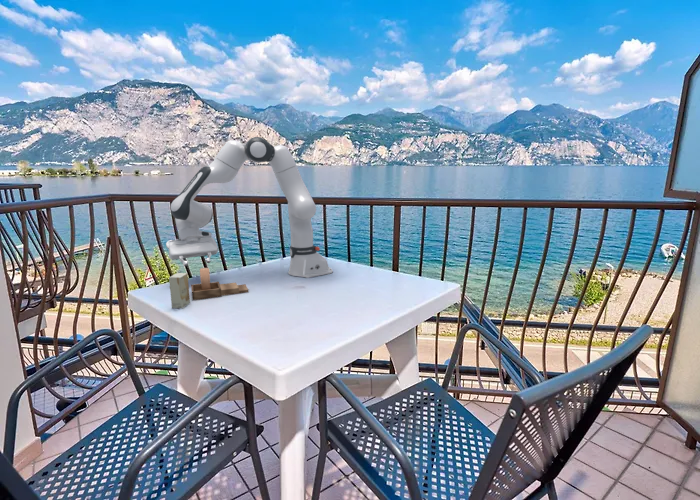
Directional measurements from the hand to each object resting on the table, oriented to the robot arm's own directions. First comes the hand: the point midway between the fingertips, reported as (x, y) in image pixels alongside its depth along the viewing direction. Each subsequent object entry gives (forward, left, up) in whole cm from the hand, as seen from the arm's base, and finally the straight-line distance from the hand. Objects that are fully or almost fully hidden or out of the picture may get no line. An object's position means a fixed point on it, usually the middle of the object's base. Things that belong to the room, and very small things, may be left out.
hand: (197, 264), depth 154 cm
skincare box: (+7, +21, -11) cm, 25 cm away
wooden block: (-2, +12, -10) cm, 16 cm away
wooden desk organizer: (-8, +12, -10) cm, 18 cm away
